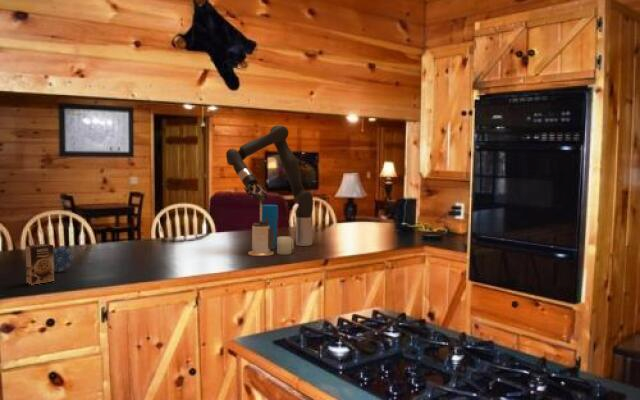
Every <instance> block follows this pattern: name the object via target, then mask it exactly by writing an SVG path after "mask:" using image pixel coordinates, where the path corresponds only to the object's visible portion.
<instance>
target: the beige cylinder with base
mask: <svg viewBox="0 0 640 400" xmlns="http://www.w3.org/2000/svg"><path fill="white" fill-rule="evenodd" d="M251 231H252V232H251V236H252V237H251V249H252V250H251V251H248V253H247V254H248V255H249V256H253V257H268V256H273V255H274V254H275V253H274V251H273V250H275V248H274V229H270V225H269V223H262V224H260V222H254V223H252V228H251Z"/></svg>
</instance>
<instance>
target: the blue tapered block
mask: <svg viewBox="0 0 640 400" xmlns="http://www.w3.org/2000/svg"><path fill="white" fill-rule="evenodd" d="M262 223H269V225H270V229H274V249H277V237H279V234H278V233H279V205H277V204H262Z"/></svg>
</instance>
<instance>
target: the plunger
mask: <svg viewBox="0 0 640 400" xmlns="http://www.w3.org/2000/svg"><path fill="white" fill-rule="evenodd" d="M257 196H258V198H259V200H258V201H259V223H260V224H262V205H263V201H266V200H265V194H259V193H257Z"/></svg>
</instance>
